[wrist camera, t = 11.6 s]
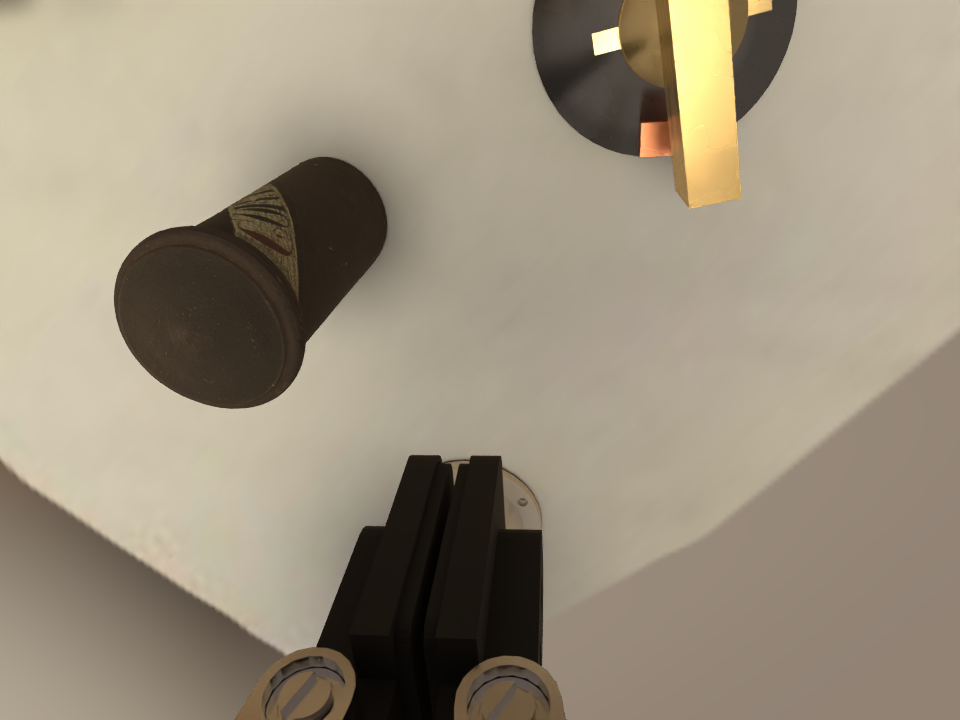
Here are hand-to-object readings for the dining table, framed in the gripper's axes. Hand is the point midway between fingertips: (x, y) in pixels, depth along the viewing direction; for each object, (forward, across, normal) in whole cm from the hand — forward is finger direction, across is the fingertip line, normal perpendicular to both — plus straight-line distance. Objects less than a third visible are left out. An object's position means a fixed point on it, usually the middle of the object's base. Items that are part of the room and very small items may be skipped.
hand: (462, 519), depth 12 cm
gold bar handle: (+29, -8, -8) cm, 31 cm away
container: (+35, +14, +3) cm, 38 cm away
